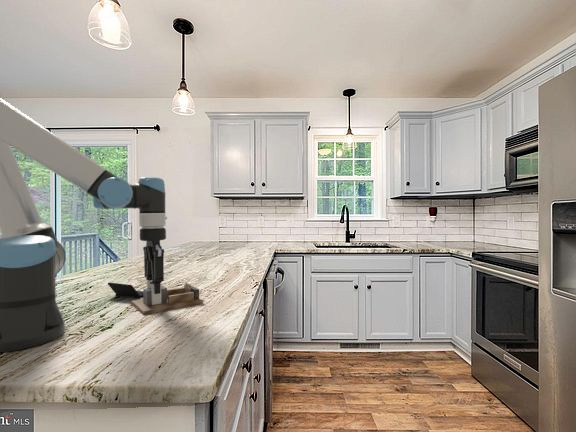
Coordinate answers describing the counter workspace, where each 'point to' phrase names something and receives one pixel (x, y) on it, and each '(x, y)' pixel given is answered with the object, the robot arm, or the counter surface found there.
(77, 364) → the counter surface
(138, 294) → the black angled piece
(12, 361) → the counter surface
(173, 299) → the header board
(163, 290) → the plug block
